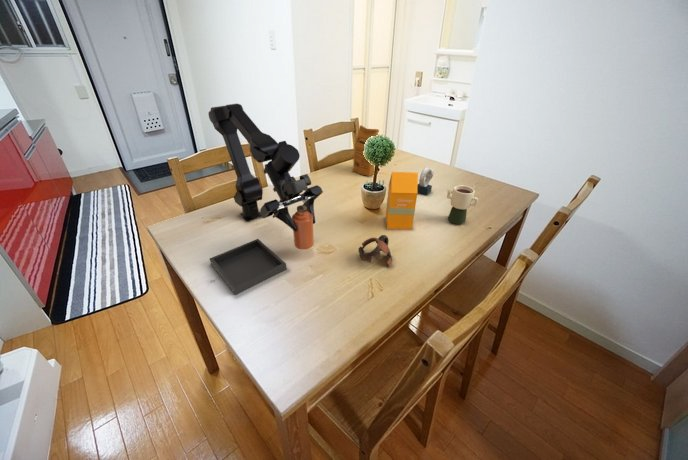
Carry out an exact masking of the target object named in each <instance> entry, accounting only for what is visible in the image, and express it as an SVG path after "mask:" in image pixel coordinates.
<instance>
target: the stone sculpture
mask: <svg viewBox="0 0 688 460" xmlns="http://www.w3.org/2000/svg"><path fill="white" fill-rule="evenodd" d="M434 175H435V171H434V170H433V169H432V168H431V167H423V169H422V170H421V172H420V176H419V178H418V181H419V183H418V187H417V192H418V193H417V194H420V195H423V196H428V195H430V194H431V193H432V188H433V185H431V184H430V182H431V180H432V178H433V177H434Z"/></svg>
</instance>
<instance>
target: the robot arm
mask: <svg viewBox="0 0 688 460" xmlns="http://www.w3.org/2000/svg"><path fill="white" fill-rule="evenodd" d="M208 118H209V121H210V123H211V124H212V126H213V128H214V130H216V131H217V132H218V133H219V134H220V135H221V136H222V138H223V141H224V144H225V147H226V150H227V152H228V155H229V158H230V161H231V164H232V166H233V167H232V168H233V169H234V172H235V174H236V181H235V186H234V187H235V190H236V192H235V193H234V196H233V199H234V203H235V204H237V205H238V206H240V207H241V210H242V212H241V213H239V215H240V217H241V218H243V220H245V221H246V222H250V221H253V220H256V219H259V218H261V217H262V219H266V218H269V217H271V216H272V218H273V219H274V218H276V219H278V220H280V221H281V222H282V223H284V224H285V225H287V227H289V228H290V229H291V230H292V231H293V230H294V231H295V232H296V231H297V227H296V225H295V223H294V221H293V220H292V215H291V214H290V212H289V208H288V207H289V206H291V205H294V204H297V203H299V202H302V203H303V204H302V205H304V206H306V207H307V211H308V212H309V213H311V214H312V215H313V225H315V224H316V216H315V208H314V207H315V206H314V203H315V201H316V199H317V198H319V197H320V196H321V195H322V194H324V191H323V189H322V187H321V186H320V185H318V184H316V185H314V186H313V185H312V180H311V178H310V176H309V174H308V173H305V174H302V175H299V179H296V178H295V177H294V176H291V174H290V173H289V172H290V171H291V170H293V168H294V167H295V165H296V164H297V162H299V160H300V151H299V150H298V149H297V148H296V147H295V146H293V145H292V144H288V143H287V141H286V140H282V141H279V142H277V141H276V139H275V138H273V137H272V136H271V135H270V134H267V133H264V132H262V131H261V129H260V128H259V127H258V126H257V125H256V123H255V122H254V121H253V120H252V119H251V118H250V116H249V115H248V114H247V113H246V112H245V110H244V108H243V106H242V104H241V103H230V104H225V105H219V106H212V107H210V110H209V111H208ZM238 132H240V134H241V135H242V137H243V138H244V139H245V140H246V142H247V143H248V144H249V152H250V154H251V156H252V158H253V159H254V160H255V161H256V162H257V163H265V162H267V163H266V164H264V168H263V174H264V175H266V174H267V176H268V178H269V180H270V182H271V184H272V186H273V188H272V190H273V192H274V193H276V194H277V196H278V198H279V200H278V199H276V198H275V199H273V200H269V201H266V202H264V203H263V205H262V206H261V208H260V209H259V205H258V201H262V200H263V194H264V189H263V187H262V185H261V183H260V180H259V178H258V177H255V176H254V175H253V174H252V172H251V170H250V167H249V164H248V161H247V158H246V155H245V152H244V149H243V146H242V144H241V143H242V142H241V139H240V137H239V134H238ZM311 185H312V186H311ZM308 186H310V187H308Z"/></svg>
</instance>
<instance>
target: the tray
mask: <svg viewBox="0 0 688 460" xmlns="http://www.w3.org/2000/svg"><path fill="white" fill-rule="evenodd" d="M209 262H210V265H211V267H213V269H214V271H216V272H217V274H218V275H219V277H221V279H222V280H223V281H224V282H225V283H226V285H227V286H228V287H229V288H230V290H231V291H232V292H233V294H234V295H235V296H237V295H240V294H241V293H243V292H246V291H247V290H249V289H251V288H253V287H255V286H258V285H259V284H261V283H263V282H266V281H267V280H270V279H271V278H273V277H276V276H277V275H279V274H281V273H283V272H286V271H287V270H288V269H287V263H286V262H285V261H283V259H281V258H280V257H279V256H278V255H277V254H276V253H275V252H273V250H272V249H270V248H269V247H268V246H267V244H265V243H263V242H262V240H260V239H259V238H256V239H254V240H251V241H249V242H246V243H244V244H241V245H239V246H237V247H234V248H231V249H229V250H227V251H224V252H221V253H220V254H217V255H215V256H212V257H210V258H209Z"/></svg>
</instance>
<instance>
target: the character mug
mask: <svg viewBox="0 0 688 460" xmlns="http://www.w3.org/2000/svg"><path fill="white" fill-rule="evenodd" d="M474 196H475V189H474V188H473V187H471V186H469V185H463V184H462V185H459V184H458V185H455V186H454V187H453V189H452V190H451V189H447V193H446V199H449V200H450V205H451V208H450V211H449V214H448V217H447V220H448V221H449V222H450V223H452V224H455V225H461V224H464V223H466V220H467V212H468V209H470V208H471V206H472V207H477V206H478V202H479V198H478V197H476V196H475V197H474ZM473 201H474V202H473Z"/></svg>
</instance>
